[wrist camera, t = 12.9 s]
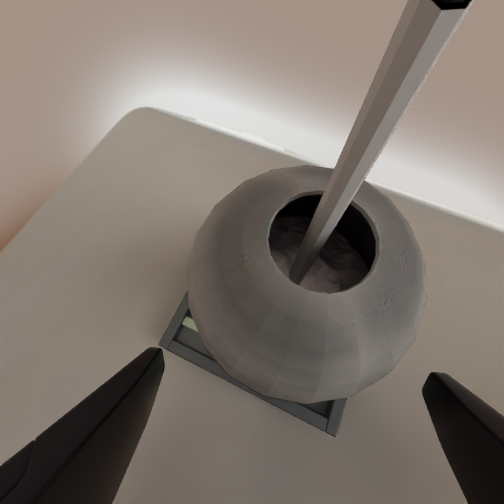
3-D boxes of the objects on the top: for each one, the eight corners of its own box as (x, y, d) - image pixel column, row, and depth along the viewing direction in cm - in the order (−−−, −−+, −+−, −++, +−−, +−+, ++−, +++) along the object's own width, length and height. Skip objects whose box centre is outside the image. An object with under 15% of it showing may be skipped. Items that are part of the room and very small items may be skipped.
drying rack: (372, 281, 21) (381, 277, 20) (329, 429, 18) (336, 438, 16) (229, 223, 23) (227, 215, 22) (165, 344, 20) (157, 345, 18)
